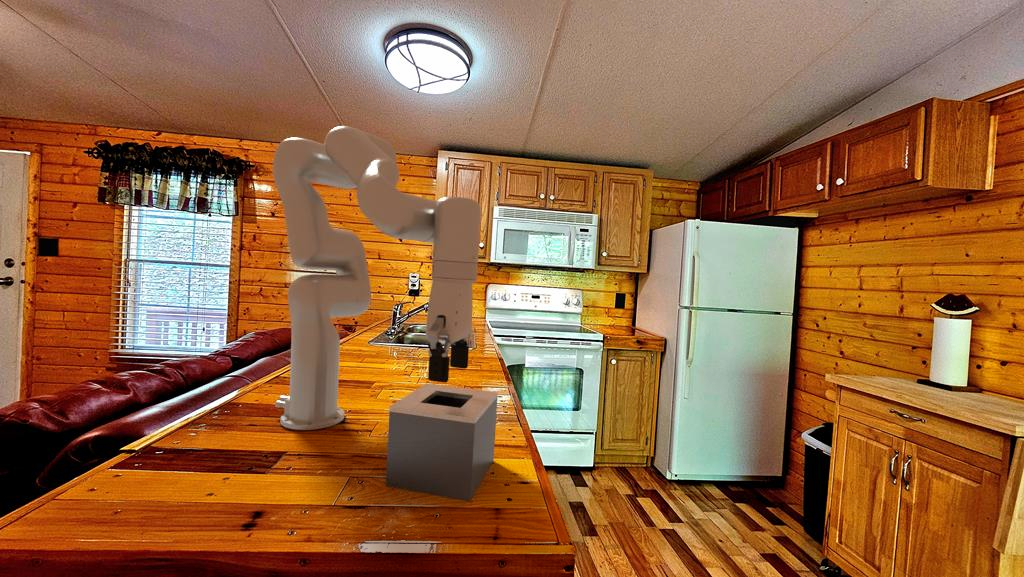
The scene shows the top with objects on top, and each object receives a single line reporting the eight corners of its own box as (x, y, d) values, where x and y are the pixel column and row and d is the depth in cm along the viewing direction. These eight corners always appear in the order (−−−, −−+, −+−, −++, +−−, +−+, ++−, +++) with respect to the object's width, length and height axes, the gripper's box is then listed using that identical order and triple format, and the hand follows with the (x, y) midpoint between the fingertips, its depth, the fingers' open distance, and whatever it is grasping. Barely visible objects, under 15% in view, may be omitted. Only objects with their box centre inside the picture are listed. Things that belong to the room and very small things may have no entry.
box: (385, 485, 66) (389, 406, 66) (422, 449, 80) (426, 383, 79) (470, 501, 64) (475, 418, 63) (493, 460, 77) (497, 392, 77)
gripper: (451, 271, 79) (446, 361, 80) (411, 271, 62) (405, 384, 63) (489, 274, 78) (484, 365, 79) (458, 274, 61) (452, 390, 62)
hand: (449, 373), depth 71 cm, fingers open, 9 cm apart
